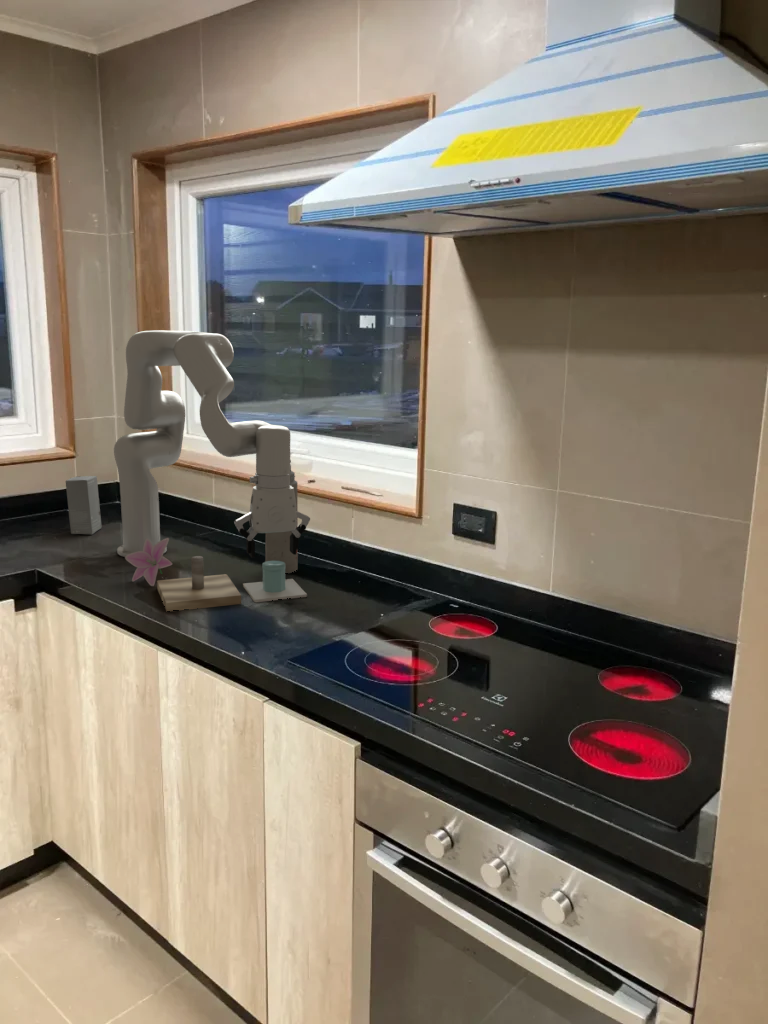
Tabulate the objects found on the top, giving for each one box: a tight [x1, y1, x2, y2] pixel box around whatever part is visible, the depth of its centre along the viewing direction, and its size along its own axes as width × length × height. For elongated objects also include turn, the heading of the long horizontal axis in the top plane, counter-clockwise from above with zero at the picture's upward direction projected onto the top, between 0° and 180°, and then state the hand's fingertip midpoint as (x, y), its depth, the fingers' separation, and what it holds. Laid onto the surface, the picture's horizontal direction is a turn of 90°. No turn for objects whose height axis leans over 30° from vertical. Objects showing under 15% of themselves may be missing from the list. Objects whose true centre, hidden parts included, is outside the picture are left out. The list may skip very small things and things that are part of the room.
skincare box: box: [65, 475, 102, 535], centre depth 236 cm, size 8×7×16 cm
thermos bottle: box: [264, 459, 299, 574], centre depth 203 cm, size 8×8×28 cm
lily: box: [124, 537, 173, 587], centre depth 196 cm, size 12×12×10 cm
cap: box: [261, 561, 286, 593], centre depth 189 cm, size 5×5×6 cm
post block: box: [156, 555, 242, 612], centre depth 184 cm, size 16×16×9 cm
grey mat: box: [242, 578, 308, 603], centre depth 189 cm, size 12×12×1 cm
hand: (272, 554), depth 188 cm, fingers open, 9 cm apart
